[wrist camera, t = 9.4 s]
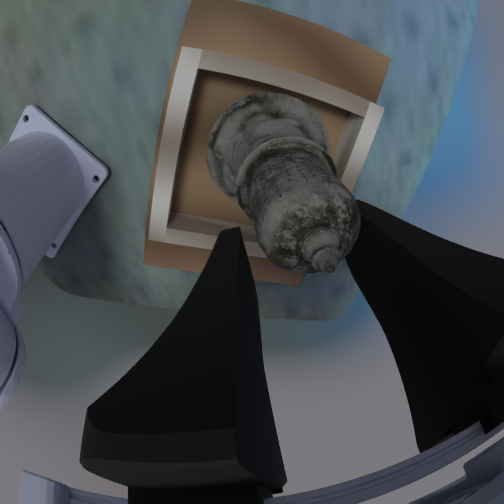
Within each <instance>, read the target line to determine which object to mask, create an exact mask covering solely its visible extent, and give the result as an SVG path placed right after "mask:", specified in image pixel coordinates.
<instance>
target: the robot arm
mask: <svg viewBox="0 0 504 504" xmlns="http://www.w3.org/2000/svg"><path fill="white" fill-rule="evenodd" d="M27 115H28V117H29V120H28V121H27V119H26V116H27ZM108 174H109V170H108V168H107V167H106V166H105V165H104V164H103V163H102V162H100V161H99V160H98V159H97V158H96V157H95V156H93V155H92V154H91V153H90V152H89V151H87V150H86V149H85V148H84V147H83V146H82V145H80V144H79V143H78V142H77V141H76V140H75V139H73V138H72V137H71V136H70V135H69V134H68V133H66V132H65V131H64V130H63V129H62V128H61V127H59V126H58V125H57V124H56V123H55V122H54V121H53V120H51V119H50V118H49V117H48V116H47V115H46V114H45V113H43V112H42V111H41V110H40V109H39V108H38V107H37V106H35V105H34V104H32V105H29V106H27V107H26V108H25V110H24V112H23V114H22V116H21V118H20V120H19V122H18V124H17V126H16V128H15V130H14V132H13V134H12V136H11V138H10V140H9V142H8V143H7V144H6V145H4V146H2V147H0V410H1V409H2V408H3V407H4V406H5V405H6V403H7V402H8V401H9V400H10V398H11V397H12V395H13V393H14V392H15V390H16V388H17V386H18V384H19V382H20V379H21V376H22V373H23V369H24V365H25V356H26V355H25V344H24V340H23V337H22V335H21V333H20V331H19V330H18V328H17V327H16V326H17V324H18V321H19V319H20V318H21V315H22V314H23V312H24V307H23V305H22V303H21V299H20V293H21V292H22V290H23V288H24V286H25V285H26V283H27V281H28V280H29V278H30V277H31V275H32V273H33V272H34V270H35V268H36V267H37V265H38V264H39V262H40V261H41V259H42V258H43V256H44V255H46V256H47V257H49V258H54V256H55V255H56V253H57V251H58V250H59V248H60V246H61V245H62V243H63V241H64V240H65V238H66V236H67V235H68V233H69V232H70V230H71V228H72V227H73V225H74V224H75V222H76V220H77V219H78V217H79V216H80V214H81V213H82V211H83V210H84V208H85V207H86V205H87V204H88V203H89V201H90V200H91V198H92V197H93V195H94V194H95V193H96V191H97V190H98V188H99V187H100V186H101V184H102V183H103V182H104V180H105V179H106V178H107V176H108ZM96 175H97V176H98V177H99V179H100V180H99V181H97V180H96V179H95V176H96ZM356 203H357V206H358V208H359V211H360V214H361V227H360V230H359V234H358V237H357V240H356V242H355V244H354V245H353V247H352V249H351V251H350V252H349V253H348V254H347V255H346V256H345V259H346V262H347V264H348V267H349V269H350V271H351V273H352V276H353V278H354V279H355V281H356V283H357V285H358V286H359V288H360V290H361V292H362V293H363V295H364V296H365V298H366V300H367V302H368V304H369V305H370V307H371V309H372V310H373V312H374V314H375V316H376V317H377V320H378V321H379V323H380V325H381V327H382V329H383V331H384V333H385V335H386V337H387V340H388V342H389V345H390V348H391V350H392V352H393V355H394V358H395V361H396V364H397V367H398V370H399V373H400V375H401V379H402V382H403V385H404V389H405V392H406V396H407V399H408V403H409V407H410V411H411V416H412V420H413V425H414V430H415V436H416V442H417V446H418V449H419V451H420V454H418V455H416V456H414V457H411V458H409V459H407V460H405V461H402V462H400V463H397V464H395V465H392V466H390V467H387V468H385V469H382V470H380V471H377V472H374V473H371V474H368V475H365V476H362V477H359V478H356V479H353V480H350V481H346V482H343V483H340V484H336V485H332V486H328V487H325V488H320V489H317V490H312V491H307V492H303V493H298V494H292V495H287V496H281V497H274V498H273V496H272V494H277V493H282V492H283V489H282V487H283V486H284V485H285V483H286V482H287V478H286V473H285V469H284V464H283V460H282V455H281V451H280V446H279V441H278V436H277V432H276V427H275V422H274V417H273V412H272V407H271V402H270V397H269V392H268V387H267V381H266V376H265V371H264V363H263V355H262V343H261V332H260V331H261V330H260V318H259V307H258V298H257V293H256V288H255V283H254V279H253V274H252V270H251V267H250V263H249V259H248V256H247V252H246V248H245V244H244V241H243V237H242V233H241V230H240V226H238V227H234V228H230V229H226V230H222V231H220V233H219V234H218V237H217V240H216V242H215V244H214V247H213V249H212V251H211V254H210V256H209V258H208V260H207V262H206V264H205V266H204V269H203V271H202V273H201V275H200V277H199V278H198V280H197V282H196V284H195V285H194V287H193V289H192V291H191V293H190V294H189V296H188V298H187V299H186V301H185V303H184V304H183V306H182V307H181V309H180V310H179V312H178V313H177V315H176V316H175V318H174V319H173V321H172V322H171V323H170V325H169V326H168V327H167V328H166V329H165V331H164V332H163V333H162V334H161V336H160V337H159V338H158V340H157V341H156V342H155V343H154V344H153V346H152V347H151V348H150V349H149V350H148V351H147V352H146V354H144V356H143V357H142V358H141V359H140V360H139V361H138V362H137V363H136V364H135V365H134V366H133V367H132V368H131V369H130V370H129V371H128V372H127V373H126V374H125V375H124V376H123V377H122V378H121V379H120V380H119V381H118V382H117V383H116V384H114V386H112V387H111V388H110V389H109V390H108V391H106V393H104V394H103V395H102V396H101V397H100V398H99V399H97V400H96V401H95V402H94V403H92V404H91V405H90V406H89V407H88V408H87V413H86V419H85V424H84V431H83V437H82V445H81V453H80V463H81V464H82V466H83V467H84V468H85V469H86V470H88V471H89V472H91V473H93V474H96V475H98V476H100V477H103V478H105V479H108V480H111V481H113V482H117V483H119V484H122V485H125V486H128V499H125V498H119V497H112V496H107V495H101V494H96V493H91V492H86V491H83V490H78V489H74V488H70V487H68V486H67V485H64V484H62V483H59V482H57V481H54V480H51V479H49V478H46V477H43V476H40V475H37V474H34V473H31V472H28V471H26V470H23V471H22V476H21V484H20V495H19V504H357V503H360V502H363V501H366V500H369V499H372V498H375V497H377V496H380V495H383V494H386V493H388V492H391V491H394V490H396V489H398V488H401V487H403V486H406V485H408V484H410V483H412V482H415V481H417V480H419V479H421V478H423V477H425V476H427V475H429V474H431V473H433V472H435V471H437V470H439V469H441V468H443V467H445V466H446V465H448V464H450V463H452V462H453V461H455V460H457V459H458V458H460V457H462V456H464V455H465V454H467V453H469V452H470V451H472V450H473V449H475V448H476V447H478V446H479V445H481V444H483V443H484V442H485V441H487V440H488V439H490V438H491V437H493V436H494V435H495V434H497V433H498V432H500V431H501V430H502V429H503V428H504V259H502V258H499V257H495V256H492V255H488V254H485V253H481V252H479V251H475V250H472V249H469V248H467V247H464V246H461V245H458V244H456V243H453V242H451V241H448V240H445V239H443V238H441V237H438V236H436V235H434V234H431V233H429V232H427V231H425V230H422V229H420V228H418V227H416V226H414V225H412V224H410V223H408V222H405V221H403V220H401V219H399V218H397V217H395V216H393V215H391V214H389V213H387V212H385V211H383V210H381V209H379V208H377V207H375V206H372V205H370V204H368V203H366V202H363V201H360V200H356ZM53 243H55V244H56V245H54V244H53ZM463 468H464V470H465V473H466V475H464V476H463V477H461V478H459V479H457V480H456V481H454V482H452V483H450V484H448V485H446V486H445V487H443V488H441V489H439V490H437V491H435V492H432V493H430V494H428V495H426V496H424V497H422V498H420V499H417V500H415V501H413V502H410V503H408V504H504V437H503V438H501V439H500V440H499V441H497V442H496V443H494V444H493V445H491V446H490V447H488V448H487V449H485V450H483V451H482V452H481V453H479V454H477V455H476V456H475V457H473V458H472V459H470V460H469V461H467V462H466V463H465V464H464V466H463Z"/></svg>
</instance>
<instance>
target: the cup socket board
mask: <svg viewBox="0 0 504 504" xmlns="http://www.w3.org/2000/svg"><path fill="white" fill-rule="evenodd" d="M390 60H391V59H390V58H388V57H386V56H385V55H383V54H381V53H379V52H377V51H375V50H373V49H371V48H369V47H367V46H365V45H363V44H361V43H359V42H357V41H355V40H353V39H351V38H348V37H346V36H344V35H342V34H339V33H337V32H335V31H332V30H330V29H328V28H325V27H323V26H320V25H317V24H315V23H312V22H309V21H307V20H304V19H301V18H298V17H295V16H292V15H289V14H286V13H282V12H279V11H276V10H272V9H269V8H265V7H261V6H258V5H254V4H249V3H245V2H241V1H236V0H192V2H191V5H190V8H189V11H188V14H187V17H186V20H185V24H184V27H183V30H182V34H181V37H180V41H179V44H178V48H177V51H176V55H175V59H174V63H173V67H172V71H171V75H170V79H169V83H168V88H167V92H166V97H165V102H164V106H163V111H162V117H161V122H160V127H159V133H158V138H157V144H156V151H155V157H154V164H153V171H152V178H151V186H150V194H149V203H148V213H147V223H146V235H145V249H144V264H146V265H152V266H159V267H165V268H172V269H178V270H185V271H192V272H199V273H202V271H203V269H204V266H205V264H206V262H207V260H208V258H209V256H210V254H211V251H212V249H213V247H214V244H215V242H216V240H217V237H218V234H219V233H220V231H222V230H226V229H230V228H234V227H238V226H240V230H241V233H242V237H243V241H244V244H245V248H246V252H247V256H248V259H249V263H250V267H251V270H252V274H253V279H254V280H256V281H264V282H272V283H280V284H288V285H296V286H300V284H301V282H302V280H303V278H304V276H305V273H296V272H291V271H287V270H284V269H282V268H280V267H277V266H276V265H275V264H273V263H272V262H271V261H270V260H269V259H268V258H267V256H266V255H265V253H264V252H263V250H262V249H261V247H260V246H259V243H258V239H257V236H256V231H255V227H254V222H253V221H252V220H251V219H250V218H249V217H247V216H246V215H245V213H244V212H243V210H242V209H241V207H240V206H239V204H238V203H236V202H234V201H232V200H231V199H229V198H228V197H227V196H226V195H225V194H224V193H223V192H221V191H220V190H219V188H218V187H217V185H216V184H215V182H214V181H213V179H212V178H211V175H210V172H209V169H208V165H207V156H206V146H207V142H208V138H209V135H210V131H211V129H212V127H213V126H214V124H215V122H216V121H217V119H218V117H219V116H220V115H221V113H222V112H223V110H224V109H225V108H226V107H227V106H229V105H230V104H231V103H232V102H233V101H235V100H237V99H239V98H241V97H243V96H246V95H250V94H254V93H282V94H285V95H288V96H291V97H294V98H297V99H299V100H301V101H302V102H304V103H305V104H307V105H308V106H310V107H311V108H312V109H313V110H314V111H315V112H316V113H317V115H318V116H319V117H320V118H321V119H322V121H323V123H324V125H325V128H326V130H327V132H328V135H329V142H330V149H331V150H330V157H331V158H332V160H333V162H334V165H335V167H336V172H337V178H338V179H339V180H340V181H341V182H342V183H343V184H344V185H345V186H346V188H347V189H348V190H349V191H350V192H351V193H352V191H353V188H354V186H355V184H356V181H357V179H358V176H359V174H360V172H361V169H362V167H363V164H364V162H365V159H366V157H367V154H368V152H369V149H370V147H371V144H372V141H373V139H374V136H375V134H376V131H377V128H378V126H379V123H380V120H381V118H382V115H383V112H384V109H385V108H383V107H381V106H379V105H377V104H376V101H377V99H378V96H379V93H380V90H381V87H382V84H383V81H384V78H385V75H386V72H387V69H388V66H389V63H390Z"/></svg>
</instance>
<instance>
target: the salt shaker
mask: <svg viewBox="0 0 504 504" xmlns="http://www.w3.org/2000/svg"><path fill="white" fill-rule="evenodd" d="M330 150H331V149H330V142H329V135H328V132H327V130H326V128H325V125H324V123H323V121H322V119H321V118H320V117H319V116H318V115H317V113H316V112H315V111H314V110H313V109H312V108H311V107H310V106H308V105H307V104H305V103H304V102H302V101H301V100H299V99H297V98H294V97H291V96H288V95H285V94H282V93H254V94H250V95H246V96H243V97H241V98H239V99H237V100H235V101H233V102H232V103H231V104H230V105H229V106H227V107H226V108H225V109H224V110H223V112H222V113H221V115H220V116H219V117H218V119H217V121H216V122H215V124H214V126H213V127H212V129H211V131H210V135H209V138H208V142H207V146H206V156H207V165H208V169H209V172H210V175H211V178H212V179H213V181H214V182H215V184H216V185H217V187H218V188H219V190H220V191H221V192H223V193H224V194H225V195H226V196H227V197H228V198H229V199H231V200H232V201H234V202H236V203H238V204H239V206H240V207H241V209H242V210H243V212H244V213H245V215H246V216H247V217H249V218H250V219H251V220H252V221H253V222H254V227H255V231H256V236H257V239H258V243H259V246H260V247H261V249H262V250H263V252H264V253H265V255H266V256H267V258H268V259H269V260H270V261H271V262H272V263H273V264H275V265H276V266H277V267H280V268H282V269H284V270H287V271H291V272H296V273H315V272H319V271H320V272H329V273H332V272H334V271H335V268H336V267H337V265H338V263H339V262H340V261H341V260H342V259H343V258H344V257H345V256H346V255H347V254H348V253H349V252H350V251H351V249H352V247H353V245H354V244H355V242H356V240H357V237H358V234H359V230H360V227H361V214H360V211H359V208H358V206H357V203H356V200H355V198H354V196H353V195H352V194H351V192H350V191H349V190H348V189H347V188H346V186H345V185H344V184H343V183H342V182H341V181H340V180H339V179H338V178H337V172H336V167H335V165H334V162H333V160H332V158H331V157H330Z"/></svg>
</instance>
